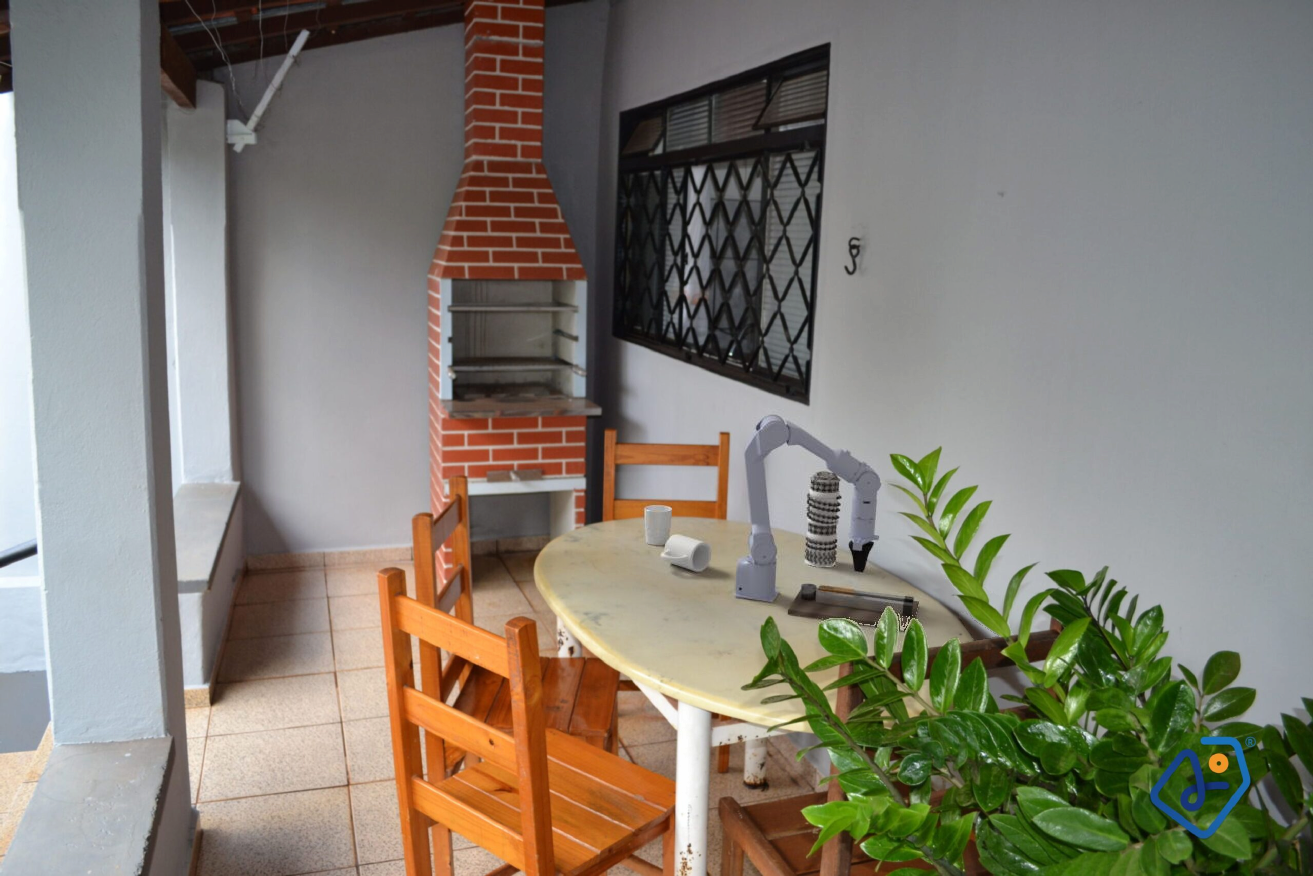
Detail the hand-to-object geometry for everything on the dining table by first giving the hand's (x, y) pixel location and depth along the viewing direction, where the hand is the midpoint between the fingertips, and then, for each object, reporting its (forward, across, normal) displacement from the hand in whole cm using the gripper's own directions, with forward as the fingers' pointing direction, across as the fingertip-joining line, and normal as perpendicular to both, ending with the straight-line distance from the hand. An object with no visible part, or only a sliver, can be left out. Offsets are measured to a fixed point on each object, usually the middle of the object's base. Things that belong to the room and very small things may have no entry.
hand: (859, 571), depth 237 cm
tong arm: (+6, -8, -1) cm, 9 cm away
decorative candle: (+7, +25, +14) cm, 29 cm away
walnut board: (+7, -8, 0) cm, 11 cm away
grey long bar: (+6, -9, -3) cm, 11 cm away
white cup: (+8, +24, +61) cm, 66 cm away
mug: (+8, +5, +46) cm, 47 cm away
